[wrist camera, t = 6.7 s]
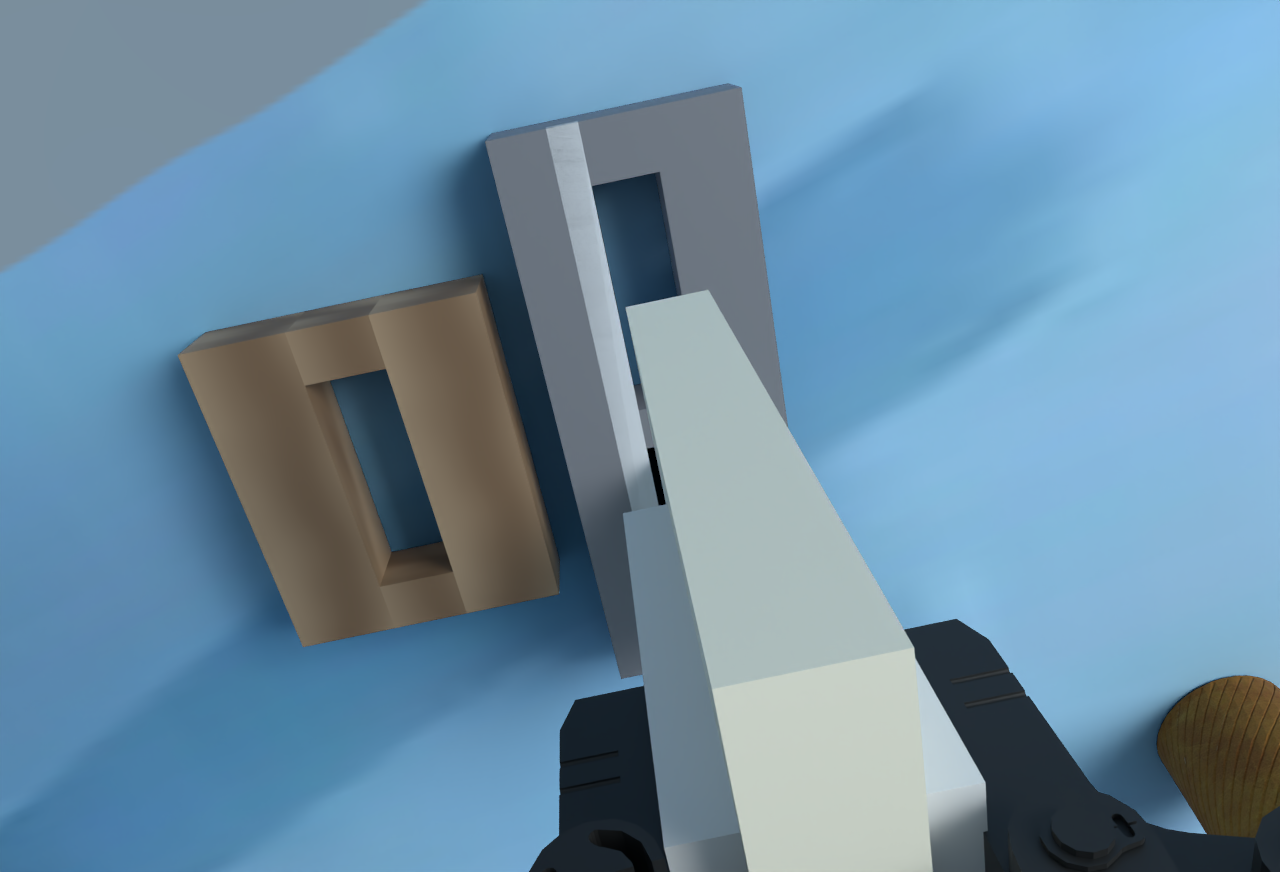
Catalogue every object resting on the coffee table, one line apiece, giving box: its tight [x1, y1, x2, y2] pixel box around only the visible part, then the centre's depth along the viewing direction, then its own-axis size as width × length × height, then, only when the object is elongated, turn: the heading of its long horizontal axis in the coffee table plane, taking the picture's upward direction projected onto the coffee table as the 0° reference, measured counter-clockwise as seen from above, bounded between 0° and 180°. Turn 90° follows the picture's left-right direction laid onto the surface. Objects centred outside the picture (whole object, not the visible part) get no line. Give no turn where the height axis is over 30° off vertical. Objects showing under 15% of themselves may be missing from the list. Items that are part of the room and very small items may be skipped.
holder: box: [178, 274, 560, 647], centre depth 33 cm, size 10×12×2 cm
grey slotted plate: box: [485, 84, 788, 679], centre depth 33 cm, size 8×21×2 cm, turn 11°
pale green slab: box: [625, 290, 933, 872], centre depth 13 cm, size 2×7×11 cm, turn 11°
